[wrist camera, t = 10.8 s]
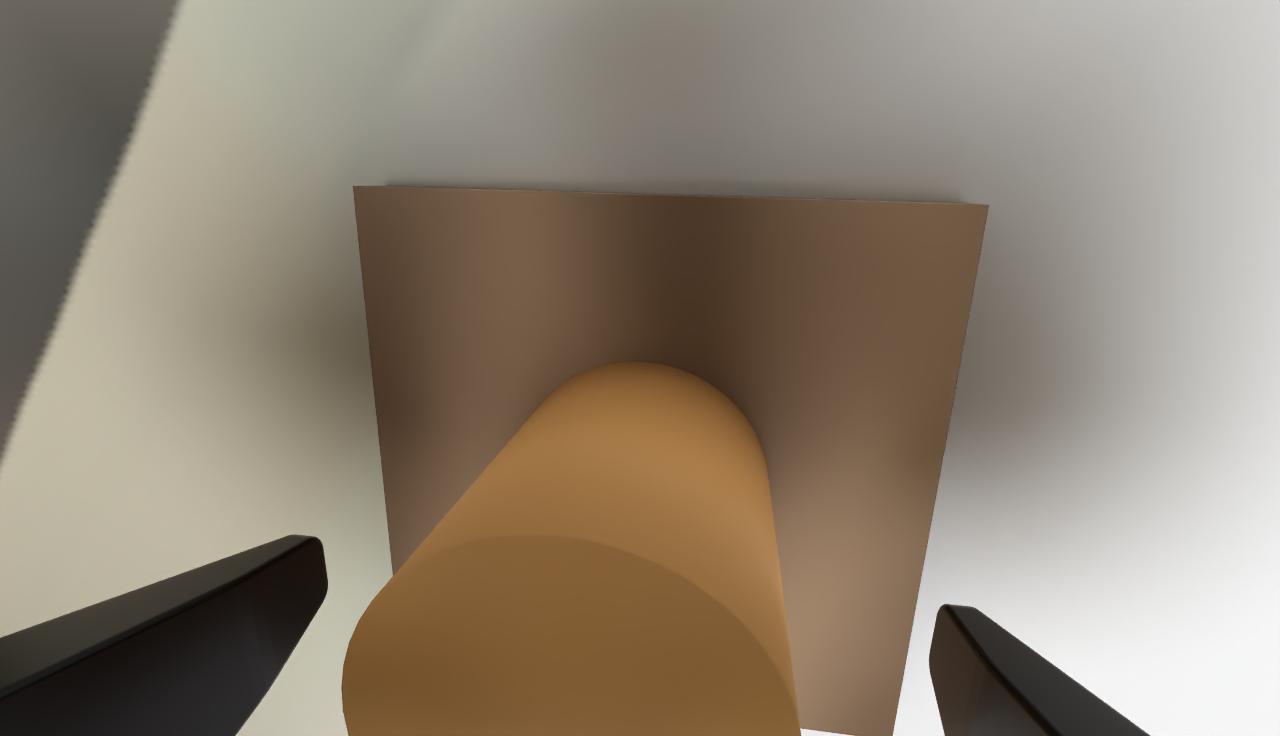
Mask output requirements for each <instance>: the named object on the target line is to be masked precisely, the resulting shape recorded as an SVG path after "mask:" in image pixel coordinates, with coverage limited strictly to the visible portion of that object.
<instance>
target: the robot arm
mask: <svg viewBox="0 0 1280 736" xmlns="http://www.w3.org/2000/svg"><path fill="white" fill-rule="evenodd" d="M327 590H328V579H327V571H326V564H325V557H324V550H323V545H322V542H321V541H320V539H318V538H317V537H313V536H304V535H289V536H286V537H283V538H280V539H277V540H274V541H272V542H269V543H266V544H263V545H260V546H258V547H255V548H252V549H249V550H246V551H244V552H241V553H238V554H235V555H232V556H229V557H227V558H224V559H221V560H218V561H215V562H213V563H210V564H207V565H204V566H201V567H198V568H196V569H193V570H190V571H187V572H184V573H182V574H179V575H176V576H173V577H170V578H168V579H165V580H162V581H159V582H156V583H153V584H151V585H148V586H145V587H142V588H139V589H137V590H134V591H131V592H128V593H125V594H122V595H120V596H117V597H114V598H111V599H108V600H106V601H103V602H100V603H97V604H94V605H91V606H89V607H86V608H83V609H80V610H77V611H75V612H72V613H69V614H66V615H63V616H61V617H58V618H55V619H52V620H49V621H46V622H44V623H41V624H38V625H35V626H32V627H30V628H27V629H24V630H21V631H18V632H15V633H13V634H10V635H7V636H4V637H1V638H0V736H236V734H237V733H238V732H239V730H240V729H241V728H242V726H243V725H244V724H245V722H246V721H247V720H248V718H249V717H250V715H251V714H252V713H253V711H254V710H255V709H256V707H257V706H258V705H259V703H260V702H261V700H262V699H263V697H264V696H265V695H266V693H267V692H268V690H269V689H270V687H271V686H272V684H273V682H274V681H275V679H276V678H277V676H278V675H279V673H280V671H281V670H282V668H283V667H284V665H285V663H286V662H287V660H288V658H289V657H290V655H291V653H292V652H293V650H294V649H295V647H296V645H297V644H298V642H299V640H300V639H301V637H302V636H303V634H304V632H305V631H306V629H307V627H308V626H309V624H310V622H311V621H312V619H313V618H314V616H315V614H316V613H317V611H318V609H319V608H320V606H321V604H322V603H323V601H324V599H325V596H326V594H327ZM929 668H930V674H931V679H932V683H933V687H934V691H935V696H936V700H937V704H938V708H939V712H940V717H941V721H942V725H943V729H944V734H945V736H1150V735H1149V734H1147V733H1146V732H1145V731H1143V730H1142V729H1141V728H1139V727H1138V726H1136V725H1135V724H1134V723H1132V722H1131V721H1130V720H1128V719H1127V718H1125V717H1124V716H1123V715H1121V714H1120V713H1119V712H1117V711H1116V710H1115V709H1113V708H1112V707H1110V706H1109V705H1108V704H1106V703H1105V702H1104V701H1102V700H1101V699H1099V698H1098V697H1097V696H1095V695H1094V694H1093V693H1091V692H1090V691H1089V690H1087V689H1086V688H1084V687H1083V686H1082V685H1080V684H1079V683H1078V682H1076V681H1075V680H1073V679H1072V678H1071V677H1069V676H1068V675H1067V674H1065V673H1064V672H1062V671H1061V670H1060V669H1058V668H1057V667H1056V666H1054V665H1053V664H1052V663H1050V662H1049V661H1047V660H1046V659H1045V658H1043V657H1042V656H1041V655H1039V654H1038V653H1036V652H1035V651H1034V650H1032V649H1031V648H1030V647H1028V646H1027V645H1026V644H1024V643H1023V642H1021V641H1020V640H1019V639H1017V638H1016V637H1015V636H1013V635H1012V634H1010V633H1009V632H1008V631H1006V630H1005V629H1004V628H1002V627H1001V626H999V625H998V624H997V623H995V622H994V621H993V620H991V619H990V618H989V617H987V616H986V615H984V614H983V613H982V612H980V611H979V610H977V609H976V608H974V607H970V606H960V605H950V604H944V605H942V606H941V607H940V609H939V611H938V613H937V617H936V623H935V628H934V633H933V638H932V643H931V648H930V654H929Z"/></svg>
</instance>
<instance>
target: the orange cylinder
mask: <svg viewBox="0 0 1280 736" xmlns="http://www.w3.org/2000/svg"><path fill="white" fill-rule="evenodd" d="M342 701H343V713H344V717H345V722H346V726H347V731H348V735H349V736H801V732H800V724H799V716H798V708H797V700H796V692H795V684H794V676H793V668H792V660H791V652H790V644H789V636H788V628H787V620H786V612H785V605H784V597H783V589H782V581H781V573H780V565H779V557H778V549H777V541H776V533H775V525H774V517H773V509H772V501H771V493H770V485H769V477H768V470H767V463H766V459H765V456H764V452H763V448H762V446H761V444H760V441H759V439H758V437H757V435H756V432H755V431H754V429H753V428H752V426H751V424H750V423H749V421H748V419H747V418H746V417H745V416H744V414H743V413H742V412H741V411H740V409H739V408H738V407H737V406H736V405H735V404H734V403H733V402H732V401H731V400H730V399H729V398H728V397H727V396H726V395H725V394H723V393H722V392H721V391H719V390H718V389H717V388H715V387H714V386H712V385H711V384H710V383H708V382H706V381H704V380H702V379H700V378H699V377H697V376H695V375H693V374H690V373H688V372H685V371H683V370H680V369H678V368H674V367H670V366H666V365H662V364H655V363H647V362H622V363H615V364H608V365H604V366H601V367H597V368H593V369H591V370H588V371H586V372H583V373H581V374H579V375H577V376H575V377H573V378H572V379H570V380H568V381H566V382H565V383H563V384H562V385H561V386H560V387H558V388H557V389H556V390H555V391H553V392H552V393H551V394H550V395H549V396H548V397H547V398H546V399H545V400H544V401H543V403H542V404H541V405H540V406H539V407H538V408H537V409H536V411H535V412H534V413H533V414H532V415H531V416H530V417H529V419H528V420H527V421H526V422H525V423H524V424H523V426H522V427H521V428H520V429H519V430H518V431H517V433H516V434H515V435H514V436H513V437H512V438H511V440H510V441H509V442H508V443H507V444H506V445H505V447H504V448H503V449H502V450H501V451H500V452H499V454H498V455H497V456H496V457H495V458H494V459H493V461H492V462H491V463H490V464H489V465H488V466H487V468H486V469H485V470H484V471H483V472H482V473H481V475H480V476H479V477H478V478H477V479H476V480H475V482H474V483H473V484H472V485H471V486H470V487H469V489H468V490H467V491H466V492H465V493H464V494H463V496H462V497H461V498H460V499H459V500H458V501H457V503H456V504H455V505H454V506H453V507H452V508H451V510H450V511H449V512H448V513H447V514H446V515H445V517H444V518H443V519H442V520H441V521H440V522H439V523H438V525H437V526H436V527H435V528H434V529H433V530H432V532H431V533H430V534H429V535H428V536H427V537H426V539H425V540H424V541H423V542H422V543H421V544H420V546H419V547H418V548H417V549H416V550H415V551H414V553H413V554H412V555H411V556H410V557H409V558H408V560H407V561H406V562H405V563H404V564H403V565H402V567H401V568H400V569H399V570H398V571H397V572H396V574H395V575H394V576H393V577H392V578H391V579H390V581H389V582H388V583H387V584H386V585H385V586H384V588H383V589H382V590H381V591H380V592H379V593H378V595H377V596H376V597H375V598H374V599H373V600H372V602H371V603H370V605H369V606H368V608H367V609H366V611H365V612H364V614H363V615H362V617H361V618H360V620H359V622H358V624H357V626H356V628H355V631H354V633H353V635H352V637H351V639H350V642H349V645H348V649H347V653H346V657H345V661H344V665H343V677H342Z"/></svg>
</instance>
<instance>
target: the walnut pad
mask: <svg viewBox="0 0 1280 736" xmlns="http://www.w3.org/2000/svg"><path fill="white" fill-rule="evenodd" d="M353 191H354V201H355V211H356V220H357V230H358V240H359V249H360V259H361V269H362V279H363V288H364V298H365V308H366V317H367V327H368V337H369V347H370V356H371V366H372V376H373V385H374V395H375V405H376V415H377V424H378V434H379V444H380V453H381V463H382V473H383V482H384V492H385V502H386V512H387V521H388V531H389V541H390V550H391V560H392V570H393V576H394V575H395V574H396V572H397V571H398V570H399V569H400V568H401V567H402V565H403V564H404V563H405V562H406V561H407V560H408V558H409V557H410V556H411V555H412V554H413V553H414V551H415V550H416V549H417V548H418V547H419V546H420V544H421V543H422V542H423V541H424V540H425V539H426V537H427V536H428V535H429V534H430V533H431V532H432V530H433V529H434V528H435V527H436V526H437V525H438V523H439V522H440V521H441V520H442V519H443V518H444V517H445V515H446V514H447V513H448V512H449V511H450V510H451V508H452V507H453V506H454V505H455V504H456V503H457V501H458V500H459V499H460V498H461V497H462V496H463V494H464V493H465V492H466V491H467V490H468V489H469V487H470V486H471V485H472V484H473V483H474V482H475V480H476V479H477V478H478V477H479V476H480V475H481V473H482V472H483V471H484V470H485V469H486V468H487V466H488V465H489V464H490V463H491V462H492V461H493V459H494V458H495V457H496V456H497V455H498V454H499V452H500V451H501V450H502V449H503V448H504V447H505V445H506V444H507V443H508V442H509V441H510V440H511V438H512V437H513V436H514V435H515V434H516V433H517V431H518V430H519V429H520V428H521V427H522V426H523V424H524V423H525V422H526V421H527V420H528V419H529V417H530V416H531V415H532V414H533V413H534V412H535V411H536V409H537V408H538V407H539V406H540V405H541V404H542V403H543V401H544V400H545V399H546V398H547V397H548V396H549V395H550V394H551V393H552V392H553V391H555V390H556V389H557V388H558V387H560V386H561V385H562V384H563V383H565V382H566V381H568V380H570V379H572V378H573V377H575V376H577V375H579V374H581V373H583V372H586V371H588V370H591V369H593V368H597V367H601V366H604V365H608V364H615V363H622V362H647V363H655V364H662V365H666V366H670V367H674V368H678V369H680V370H683V371H685V372H688V373H690V374H693V375H695V376H697V377H699V378H700V379H702V380H704V381H706V382H708V383H710V384H711V385H712V386H714V387H715V388H717V389H718V390H719V391H721V392H722V393H723V394H725V395H726V396H727V397H728V398H729V399H730V400H731V401H732V402H733V403H734V404H735V405H736V406H737V407H738V408H739V409H740V411H741V412H742V413H743V414H744V416H745V417H746V418H747V419H748V421H749V423H750V424H751V426H752V428H753V429H754V431H755V432H756V435H757V437H758V439H759V441H760V444H761V446H762V448H763V452H764V456H765V459H766V463H767V470H768V477H769V485H770V493H771V501H772V509H773V517H774V525H775V533H776V541H777V549H778V557H779V565H780V573H781V581H782V589H783V597H784V605H785V612H786V620H787V628H788V636H789V644H790V652H791V660H792V668H793V676H794V684H795V692H796V700H797V708H798V716H799V724H800V728H802V729H809V730H817V731H824V732H832V733H839V734H847V735H854V736H893V730H894V725H895V719H896V714H897V708H898V703H899V697H900V692H901V686H902V681H903V675H904V670H905V664H906V659H907V653H908V648H909V642H910V637H911V631H912V626H913V620H914V615H915V609H916V603H917V598H918V592H919V587H920V581H921V576H922V570H923V565H924V559H925V554H926V548H927V543H928V537H929V532H930V526H931V521H932V515H933V510H934V504H935V499H936V493H937V488H938V482H939V477H940V471H941V466H942V460H943V455H944V449H945V444H946V438H947V433H948V427H949V422H950V416H951V411H952V405H953V400H954V394H955V389H956V383H957V378H958V372H959V367H960V361H961V356H962V350H963V345H964V339H965V334H966V328H967V323H968V317H969V312H970V306H971V301H972V295H973V290H974V284H975V279H976V273H977V268H978V262H979V257H980V251H981V246H982V240H983V235H984V229H985V224H986V218H987V213H988V207H989V205H980V204H969V203H940V202H906V201H872V200H839V199H805V198H771V197H738V196H704V195H670V194H637V193H603V192H569V191H535V190H502V189H468V188H434V187H401V186H353Z"/></svg>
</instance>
